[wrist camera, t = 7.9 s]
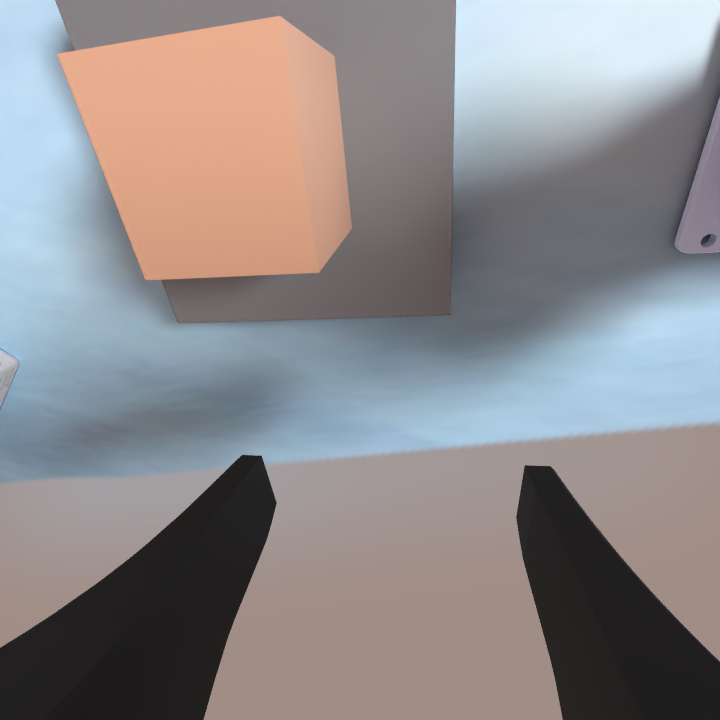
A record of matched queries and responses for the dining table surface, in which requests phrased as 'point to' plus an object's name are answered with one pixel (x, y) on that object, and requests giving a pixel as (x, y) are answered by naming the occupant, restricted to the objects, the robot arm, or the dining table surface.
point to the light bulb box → (6, 373)
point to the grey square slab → (361, 148)
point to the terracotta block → (219, 148)
